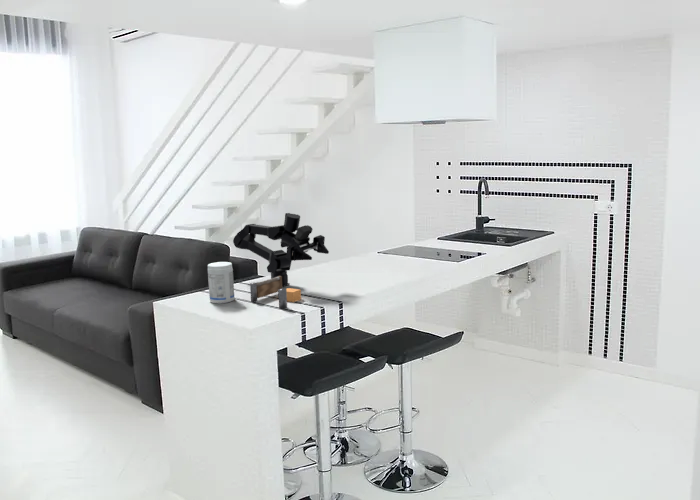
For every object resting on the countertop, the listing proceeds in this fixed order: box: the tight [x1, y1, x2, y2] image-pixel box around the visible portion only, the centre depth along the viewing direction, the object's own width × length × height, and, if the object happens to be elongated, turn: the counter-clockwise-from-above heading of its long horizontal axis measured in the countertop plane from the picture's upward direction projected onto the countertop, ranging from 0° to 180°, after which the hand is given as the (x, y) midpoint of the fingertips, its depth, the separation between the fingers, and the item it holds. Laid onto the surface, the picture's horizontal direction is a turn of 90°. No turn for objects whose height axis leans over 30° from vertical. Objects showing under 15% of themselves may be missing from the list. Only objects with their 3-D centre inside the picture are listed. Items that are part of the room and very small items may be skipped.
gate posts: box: [249, 282, 288, 310], centre depth 247 cm, size 19×3×7 cm, turn 48°
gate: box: [255, 276, 283, 299], centre depth 260 cm, size 15×1×6 cm, turn 148°
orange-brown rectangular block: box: [285, 287, 302, 303], centre depth 254 cm, size 6×5×4 cm
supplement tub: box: [207, 261, 235, 304], centre depth 254 cm, size 10×10×15 cm
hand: (320, 255), depth 260 cm, fingers open, 9 cm apart
